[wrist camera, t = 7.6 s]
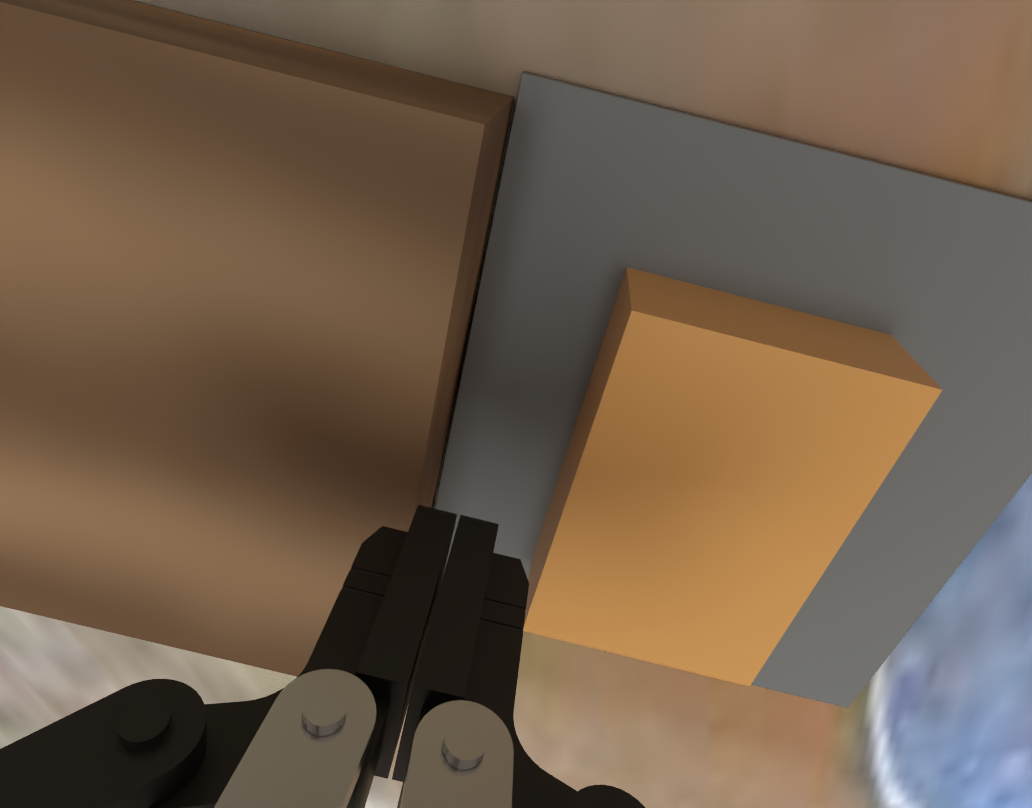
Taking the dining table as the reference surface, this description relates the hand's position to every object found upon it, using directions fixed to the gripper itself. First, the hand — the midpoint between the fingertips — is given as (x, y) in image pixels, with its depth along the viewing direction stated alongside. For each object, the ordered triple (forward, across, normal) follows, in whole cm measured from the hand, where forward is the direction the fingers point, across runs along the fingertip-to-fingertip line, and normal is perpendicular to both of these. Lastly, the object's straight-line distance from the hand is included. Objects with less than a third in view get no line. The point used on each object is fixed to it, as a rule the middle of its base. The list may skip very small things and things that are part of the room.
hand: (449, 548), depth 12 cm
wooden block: (+6, +9, 0) cm, 10 cm away
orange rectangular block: (+4, -5, 0) cm, 7 cm away
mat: (+6, -6, 0) cm, 8 cm away
